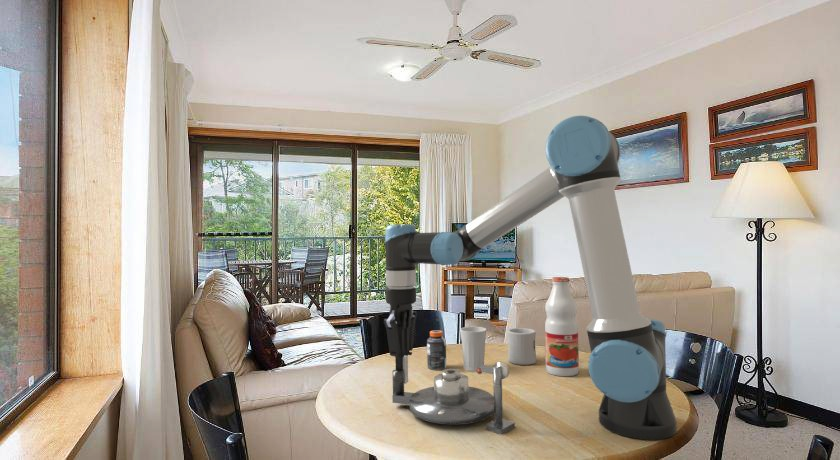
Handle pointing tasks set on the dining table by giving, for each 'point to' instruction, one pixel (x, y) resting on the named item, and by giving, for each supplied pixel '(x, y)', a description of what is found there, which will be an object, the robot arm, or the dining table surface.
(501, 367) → the indicator
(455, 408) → the turntable
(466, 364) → the cup
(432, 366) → the pill bottle
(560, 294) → the fruit juice
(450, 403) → the cover
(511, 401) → the dining table surface
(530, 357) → the mug
